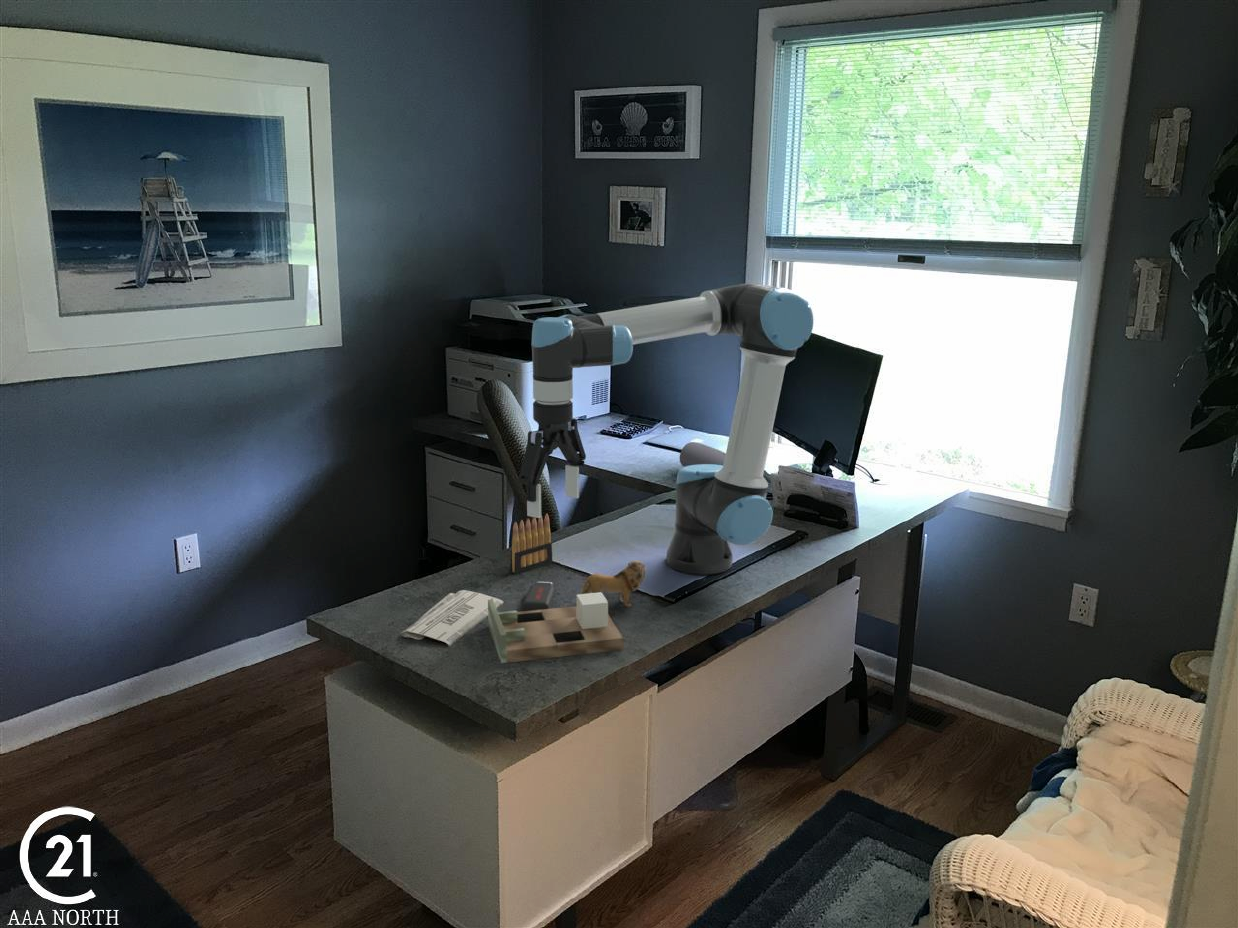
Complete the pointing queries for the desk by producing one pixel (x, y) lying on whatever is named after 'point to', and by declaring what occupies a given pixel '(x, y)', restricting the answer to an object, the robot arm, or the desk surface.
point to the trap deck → (547, 634)
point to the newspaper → (452, 617)
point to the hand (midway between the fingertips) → (553, 506)
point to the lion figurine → (617, 582)
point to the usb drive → (539, 596)
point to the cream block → (592, 610)
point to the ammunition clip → (531, 546)
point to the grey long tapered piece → (700, 455)
